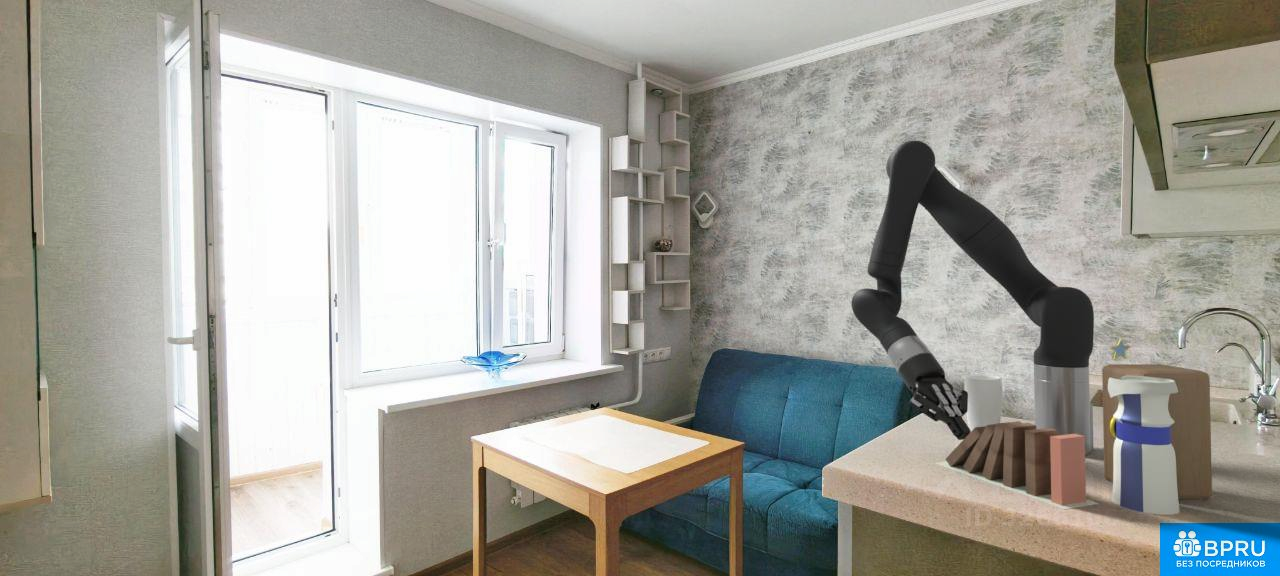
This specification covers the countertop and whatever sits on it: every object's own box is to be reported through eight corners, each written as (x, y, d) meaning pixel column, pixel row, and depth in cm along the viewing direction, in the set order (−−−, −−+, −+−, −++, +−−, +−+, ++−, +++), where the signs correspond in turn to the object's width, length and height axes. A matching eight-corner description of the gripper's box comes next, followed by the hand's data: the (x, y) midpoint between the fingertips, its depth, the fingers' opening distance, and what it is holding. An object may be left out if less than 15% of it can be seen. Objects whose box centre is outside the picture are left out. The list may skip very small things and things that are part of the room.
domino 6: (1075, 498, 92) (1074, 433, 92) (1086, 501, 90) (1084, 436, 90) (1051, 502, 90) (1050, 436, 90) (1061, 505, 88) (1060, 438, 89)
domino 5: (1049, 489, 96) (1048, 427, 96) (1059, 492, 94) (1058, 430, 94) (1026, 493, 94) (1024, 430, 94) (1035, 496, 93) (1034, 432, 93)
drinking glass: (957, 447, 123) (956, 375, 123) (984, 444, 125) (983, 373, 125) (983, 455, 117) (982, 380, 117) (1011, 453, 118) (1010, 378, 119)
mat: (963, 461, 113) (963, 459, 113) (1099, 506, 89) (1099, 503, 89) (934, 465, 111) (934, 463, 111) (1064, 511, 87) (1064, 509, 87)
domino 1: (966, 456, 111) (997, 425, 105) (971, 464, 110) (1003, 432, 104) (945, 459, 110) (975, 427, 103) (950, 466, 108) (980, 435, 102)
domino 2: (984, 463, 107) (1009, 422, 102) (991, 470, 106) (1016, 429, 101) (963, 466, 106) (986, 424, 101) (969, 473, 104) (994, 431, 100)
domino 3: (1004, 472, 103) (1019, 421, 101) (1012, 477, 102) (1027, 426, 99) (982, 474, 102) (996, 423, 99) (989, 480, 100) (1004, 428, 98)
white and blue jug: (1095, 503, 90) (1092, 340, 91) (1127, 494, 94) (1124, 337, 94) (1160, 522, 83) (1156, 344, 83) (1192, 511, 86) (1189, 341, 87)
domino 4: (1025, 481, 100) (1027, 422, 99) (1034, 484, 98) (1036, 425, 98) (1002, 484, 98) (1004, 425, 98) (1011, 488, 97) (1013, 427, 96)
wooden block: (1164, 481, 100) (1162, 363, 100) (1215, 502, 90) (1213, 371, 90) (1101, 480, 101) (1099, 363, 101) (1145, 500, 91) (1142, 371, 91)
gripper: (897, 352, 116) (947, 428, 104) (951, 350, 120) (1005, 423, 108) (879, 376, 121) (925, 451, 109) (931, 372, 125) (981, 445, 113)
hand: (965, 437), depth 108 cm, fingers closed
